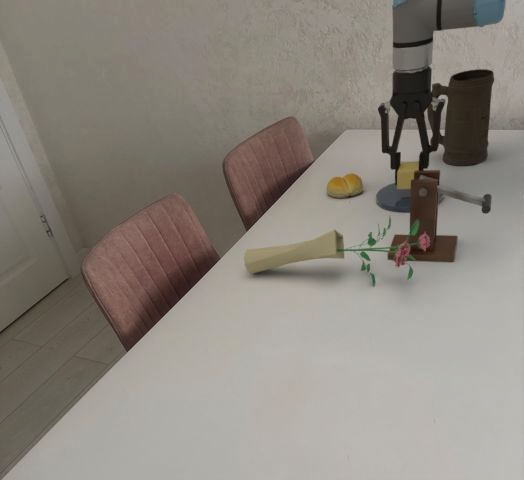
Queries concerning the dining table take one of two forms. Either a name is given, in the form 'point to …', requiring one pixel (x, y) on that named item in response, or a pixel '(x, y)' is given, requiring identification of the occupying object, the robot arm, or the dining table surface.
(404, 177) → the butter pat
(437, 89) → the beer stein
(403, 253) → the flower vase
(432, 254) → the brown wooden stand
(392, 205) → the plate
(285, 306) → the dining table surface
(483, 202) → the grey t-shaped bar
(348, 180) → the bread roll
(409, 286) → the dining table surface
